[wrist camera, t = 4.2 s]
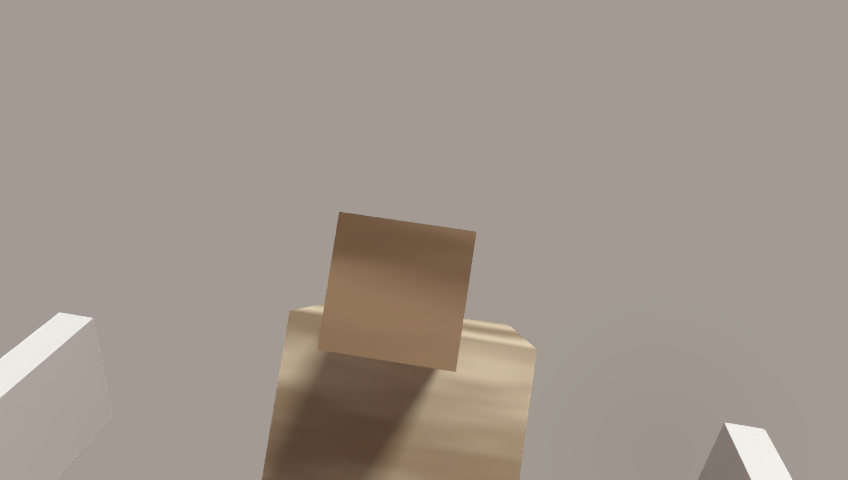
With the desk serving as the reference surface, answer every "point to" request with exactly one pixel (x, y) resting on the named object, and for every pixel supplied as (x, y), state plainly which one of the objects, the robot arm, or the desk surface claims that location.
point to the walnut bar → (397, 291)
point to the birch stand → (400, 410)
